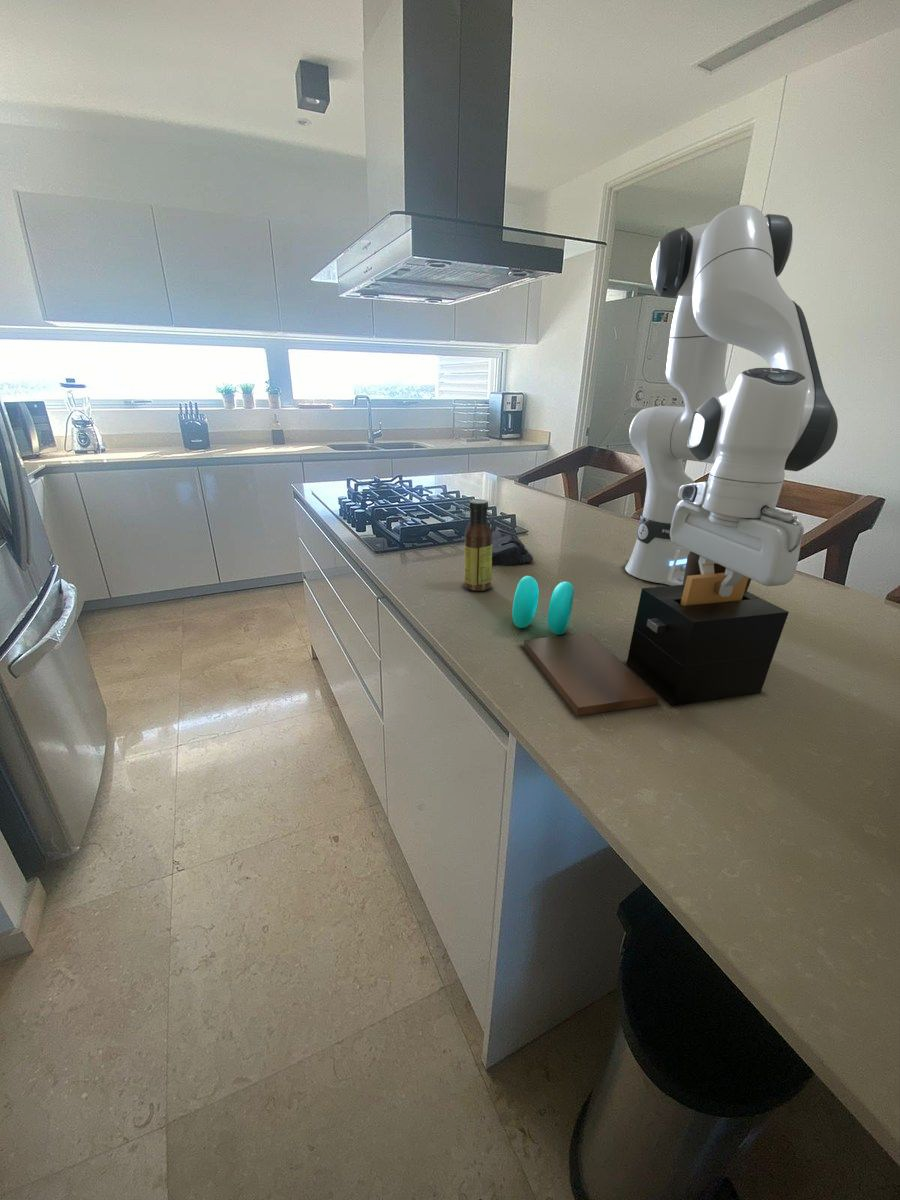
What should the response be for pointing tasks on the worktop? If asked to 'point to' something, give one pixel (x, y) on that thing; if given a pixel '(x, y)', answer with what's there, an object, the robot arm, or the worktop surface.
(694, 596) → the toast
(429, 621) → the worktop surface
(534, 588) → the turquoise disc pair
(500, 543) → the dark slate chunk
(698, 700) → the toaster
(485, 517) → the sauce bottle
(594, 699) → the cutting board
